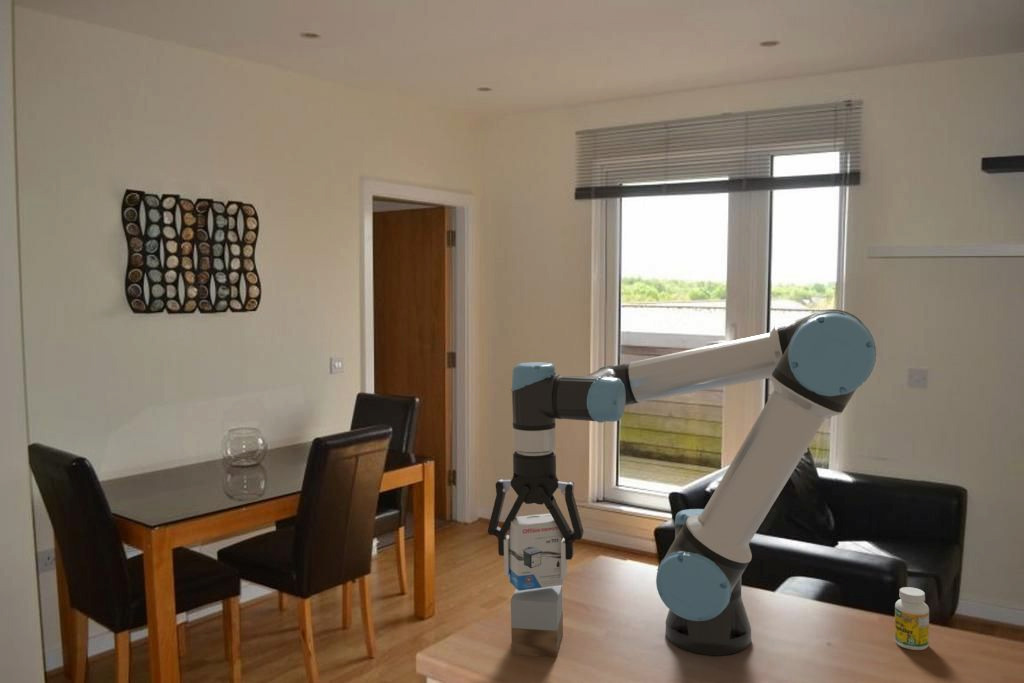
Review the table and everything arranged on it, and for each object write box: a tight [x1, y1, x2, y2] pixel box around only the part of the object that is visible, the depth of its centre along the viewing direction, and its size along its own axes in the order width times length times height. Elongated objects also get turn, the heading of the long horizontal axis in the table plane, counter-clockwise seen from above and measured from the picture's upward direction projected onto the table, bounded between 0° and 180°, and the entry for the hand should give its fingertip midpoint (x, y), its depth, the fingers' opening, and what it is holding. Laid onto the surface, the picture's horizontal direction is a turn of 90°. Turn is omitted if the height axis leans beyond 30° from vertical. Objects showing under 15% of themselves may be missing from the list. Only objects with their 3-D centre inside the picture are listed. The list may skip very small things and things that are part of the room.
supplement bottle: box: [894, 586, 930, 651], centre depth 141 cm, size 5×5×10 cm
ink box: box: [508, 512, 564, 591], centre depth 142 cm, size 9×5×12 cm, turn 108°
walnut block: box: [510, 610, 564, 658], centre depth 143 cm, size 8×8×5 cm
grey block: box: [510, 584, 563, 631], centre depth 142 cm, size 8×8×5 cm
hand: (536, 574), depth 142 cm, fingers closed on ink box, 9 cm apart
